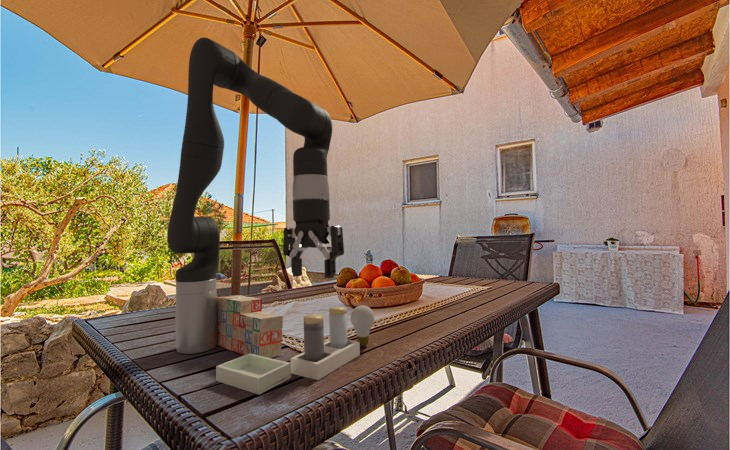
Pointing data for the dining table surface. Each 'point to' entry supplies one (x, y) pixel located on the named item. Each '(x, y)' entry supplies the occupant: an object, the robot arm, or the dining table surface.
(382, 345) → the dining table surface
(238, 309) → the stack of blocks
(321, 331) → the cylinder
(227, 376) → the parts tray
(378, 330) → the dining table surface
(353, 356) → the tray
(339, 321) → the fuse
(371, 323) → the light bulb
